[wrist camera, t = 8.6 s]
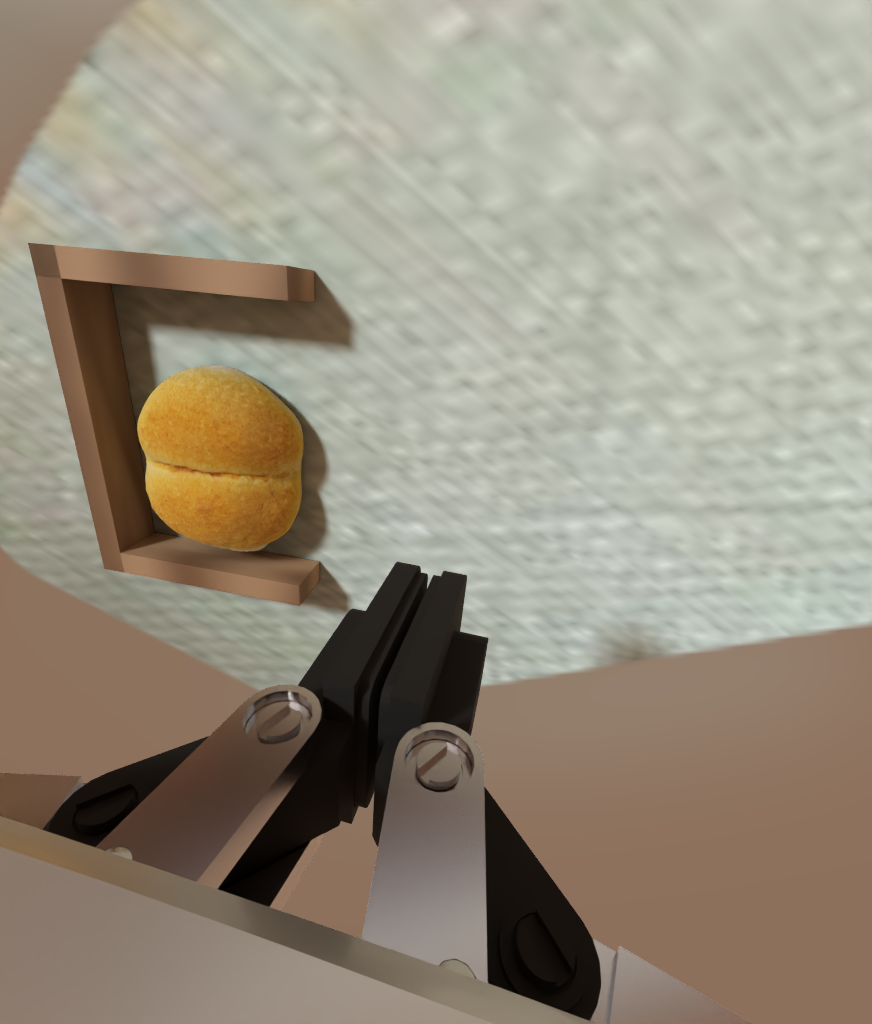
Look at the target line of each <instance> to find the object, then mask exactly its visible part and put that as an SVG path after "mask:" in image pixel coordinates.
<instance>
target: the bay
mask: <svg viewBox="0 0 872 1024" xmlns="http://www.w3.org/2000/svg"><path fill="white" fill-rule="evenodd" d="M28 244H29V248H30V253H31V257H32V261H33V265H34V270H35V274H36V278H37V282H38V287H39V291H40V295H41V300H42V304H43V308H44V312H45V317H46V321H47V325H48V329H49V334H50V338H51V342H52V346H53V351H54V355H55V359H56V364H57V368H58V372H59V376H60V381H61V385H62V389H63V393H64V398H65V402H66V406H67V411H68V415H69V419H70V423H71V428H72V432H73V436H74V440H75V445H76V449H77V453H78V458H79V462H80V466H81V470H82V475H83V479H84V483H85V487H86V492H87V496H88V500H89V504H90V509H91V513H92V517H93V522H94V526H95V530H96V534H97V539H98V543H99V547H100V551H101V556H102V560H103V564H104V569H109V570H114V571H119V572H125V573H130V574H135V575H140V576H146V577H151V578H156V579H161V580H167V581H172V582H177V583H183V584H188V585H193V586H198V587H204V588H209V589H214V590H219V591H225V592H230V593H235V594H241V595H246V596H251V597H256V598H262V599H267V600H272V601H278V602H283V603H288V604H293V605H299V606H300V605H301V603H302V602H303V601H304V600H305V598H306V597H307V596H308V594H309V593H310V592H311V591H312V589H313V588H314V587H315V585H316V584H317V583H318V582H319V580H320V572H319V561H313V560H308V559H302V558H296V557H291V556H285V555H279V554H274V553H268V552H262V551H247V552H246V551H234V550H231V549H224V548H219V547H214V546H211V545H209V544H202V543H200V542H197V541H194V540H191V539H188V538H182V537H177V536H171V535H165V534H159V533H154V527H153V521H152V516H151V510H150V504H149V499H148V494H147V491H146V482H145V476H144V471H143V465H142V459H141V454H140V448H139V442H138V437H137V431H136V425H135V420H134V414H133V409H132V403H131V397H130V392H129V386H128V380H127V375H126V369H125V363H124V358H123V352H122V346H121V341H120V335H119V330H118V324H117V318H116V313H115V307H114V301H113V296H112V290H111V284H110V283H113V284H123V285H133V286H143V287H153V288H163V289H174V290H184V291H194V292H204V293H214V294H224V295H234V296H244V297H255V298H265V299H275V300H285V301H306V302H315V285H314V271H312V270H307V269H301V268H296V267H290V266H283V265H271V264H260V263H249V262H237V261H226V260H215V259H203V258H192V257H181V256H169V255H158V254H147V253H136V252H124V251H113V250H102V249H90V248H79V247H68V246H56V245H45V244H34V243H28Z"/></svg>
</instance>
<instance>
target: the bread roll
mask: <svg viewBox="0 0 872 1024" xmlns="http://www.w3.org/2000/svg"><path fill="white" fill-rule="evenodd" d="M137 432H138V437H139V441H140V444H141V447H142V449H143V451H144V453H145V456H146V463H147V467H146V474H145V481H146V491H147V494H148V496H149V499H150V503H151V506H152V508H153V510H154V511H155V512H156V514H157V515H158V516H159V517H160V518H161V519H162V520H163V521H164V522H165V523H166V524H167V525H168V526H169V527H170V528H172V529H173V530H174V531H175V532H177V533H178V534H180V535H182V536H184V537H187V538H189V539H191V540H194V541H197V542H200V543H202V544H209V545H211V546H214V547H219V548H224V549H231V550H234V551H246V552H247V551H258V550H261V549H262V548H264V547H265V546H267V545H268V544H269V543H270V542H273V541H276V540H277V539H278V538H280V537H281V536H283V535H284V534H285V533H287V532H288V530H289V529H290V528H291V526H292V524H293V522H294V520H295V518H296V515H297V513H298V511H299V508H300V503H301V498H302V484H301V460H302V457H303V449H304V442H303V432H302V428H301V425H300V423H299V421H298V419H297V418H296V416H295V415H294V414H293V412H292V411H291V410H290V409H289V408H288V407H287V406H286V405H285V404H284V403H283V402H282V401H281V400H280V399H279V398H278V397H277V396H276V395H275V394H273V393H272V392H271V391H270V390H269V389H268V388H267V387H266V386H264V385H263V384H261V383H260V382H259V381H257V380H256V379H255V378H253V377H252V376H250V375H248V374H246V373H244V372H242V371H240V370H238V369H235V368H230V367H225V366H216V365H212V366H200V367H195V368H190V369H186V370H183V371H180V372H178V373H176V374H174V375H172V376H170V377H169V378H168V379H166V380H165V381H164V382H162V383H161V384H160V385H159V386H158V387H157V388H156V389H155V390H154V391H153V392H152V393H151V394H150V396H149V398H148V399H147V401H146V403H145V404H144V407H143V409H142V411H141V413H140V416H139V419H138V426H137Z"/></svg>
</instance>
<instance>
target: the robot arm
mask: <svg viewBox="0 0 872 1024" xmlns="http://www.w3.org/2000/svg"><path fill="white" fill-rule="evenodd" d="M427 581H428V575H427V574H425V573H421V569H420V566H416V565H411V564H406V563H401V562H397V563H396V564H395V565H394V567H393V568H392V570H391V572H390V573H389V575H388V576H387V578H386V580H385V581H384V583H383V584H382V586H381V587H380V589H379V591H378V592H377V594H376V595H375V597H374V599H373V600H372V602H371V603H370V605H369V607H368V608H367V610H366V611H362V610H357V609H351V610H350V611H349V612H348V613H347V614H346V616H345V617H344V619H343V620H342V622H341V623H340V625H339V626H338V628H337V629H336V630H335V632H334V633H333V635H332V636H331V638H330V639H329V641H328V642H327V644H326V645H325V647H324V648H323V649H322V651H321V652H320V654H319V655H318V657H317V658H316V660H315V661H314V663H313V664H312V666H311V667H310V669H309V670H308V671H307V673H306V674H305V676H304V677H303V679H302V680H301V682H300V683H299V685H298V686H296V685H277V686H273V687H268V688H266V689H264V690H261V691H259V692H257V693H255V694H254V695H252V696H251V697H250V698H248V699H247V700H246V701H245V702H244V703H243V704H242V705H241V706H240V707H238V708H237V709H236V710H235V712H233V713H232V714H231V715H230V716H229V717H228V718H227V719H226V720H225V721H224V722H223V723H222V724H221V725H220V726H219V727H218V728H217V729H216V730H215V731H214V732H213V733H212V734H211V735H210V736H208V737H205V738H202V739H200V740H197V741H194V742H192V743H189V744H186V745H183V746H180V747H178V748H175V749H172V750H169V751H167V752H164V753H161V754H158V755H155V756H153V757H150V758H147V759H144V760H142V761H139V762H136V763H133V764H131V765H128V766H125V767H123V768H120V769H117V770H114V771H111V772H109V773H106V774H104V775H102V776H100V777H98V778H95V779H93V780H91V781H90V782H88V783H83V780H82V777H81V776H66V775H43V774H19V773H0V1024H751V1023H750V1022H748V1021H746V1020H745V1019H743V1018H741V1017H740V1016H738V1015H736V1014H734V1013H733V1012H731V1011H729V1010H728V1009H726V1008H724V1007H723V1006H721V1005H719V1004H717V1003H716V1002H714V1001H712V1000H710V999H709V998H707V997H706V996H704V995H702V994H700V993H699V992H697V991H695V990H694V989H692V988H690V987H689V986H687V985H685V984H683V983H682V982H680V981H678V980H677V979H675V978H673V977H672V976H670V975H668V974H666V973H665V972H663V971H661V970H660V969H658V968H656V967H654V966H653V965H651V964H649V963H647V962H646V961H644V960H642V959H641V958H639V957H637V956H636V955H634V954H632V953H631V952H629V951H627V950H626V949H624V948H622V947H620V946H619V947H618V949H617V951H616V952H615V951H613V950H611V949H610V948H608V947H606V946H605V945H603V944H601V943H600V942H598V941H596V940H594V939H593V938H592V937H591V936H590V934H589V932H588V930H587V928H586V927H585V925H584V923H583V921H582V920H581V918H580V917H579V916H578V914H577V913H576V912H575V910H574V909H573V908H572V906H571V905H570V903H569V902H568V901H567V899H566V898H565V896H564V895H563V894H562V892H561V891H560V890H559V888H558V887H557V885H556V884H555V883H554V881H553V880H552V879H551V877H550V876H549V874H548V873H547V872H546V870H545V869H544V868H543V866H542V865H541V863H540V862H539V861H538V859H537V858H536V857H535V855H534V854H533V852H532V851H531V850H530V848H529V847H528V846H527V844H526V843H525V842H524V840H523V839H522V837H521V836H520V835H519V833H518V832H517V831H516V829H515V828H514V826H513V825H512V824H511V822H510V821H509V819H508V818H507V817H506V815H505V814H504V813H503V811H502V810H501V809H500V807H499V806H498V804H497V803H496V802H495V800H494V799H493V798H492V796H491V795H490V793H489V792H488V791H487V789H486V788H485V786H484V762H483V757H482V752H481V750H480V748H479V747H478V745H477V743H476V741H475V740H474V739H473V738H472V737H471V732H472V727H473V721H474V717H475V711H476V706H477V701H478V696H479V691H480V685H481V680H482V674H483V668H484V662H485V656H486V650H487V644H488V638H486V637H481V636H477V635H472V634H468V633H463V632H460V627H461V620H462V612H463V605H464V597H465V589H466V582H467V575H462V574H457V573H452V572H447V571H443V573H442V576H436V575H434V576H433V577H432V580H431V582H430V584H429V586H428V588H427ZM374 790H375V791H374ZM373 793H374V812H373V813H374V814H373V833H372V836H373V838H374V840H375V843H376V845H377V847H378V851H377V857H376V862H375V867H374V873H373V879H372V884H371V889H370V895H369V901H368V906H367V912H366V917H365V923H364V928H363V934H362V939H360V938H357V937H354V936H351V935H348V934H346V933H343V932H340V931H337V930H334V929H331V928H328V927H326V926H323V925H320V924H316V923H314V922H311V921H308V920H305V919H302V918H299V917H297V916H294V915H291V914H288V913H285V912H282V911H281V910H282V909H283V907H284V905H285V904H286V902H287V900H288V899H289V897H290V895H291V894H292V892H293V890H294V889H295V887H296V885H297V884H298V882H299V880H300V879H301V877H302V875H303V874H304V872H305V870H306V869H307V867H308V865H309V864H310V862H311V860H312V859H313V857H314V855H315V854H316V852H317V850H318V848H319V846H320V844H321V841H322V839H323V834H324V833H326V832H328V831H329V830H331V829H333V828H335V827H337V826H339V824H340V822H341V821H344V822H347V823H350V824H352V821H353V819H354V816H355V814H356V811H357V809H358V806H361V807H364V808H367V807H368V805H369V803H370V801H371V798H372V795H373Z"/></svg>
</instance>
